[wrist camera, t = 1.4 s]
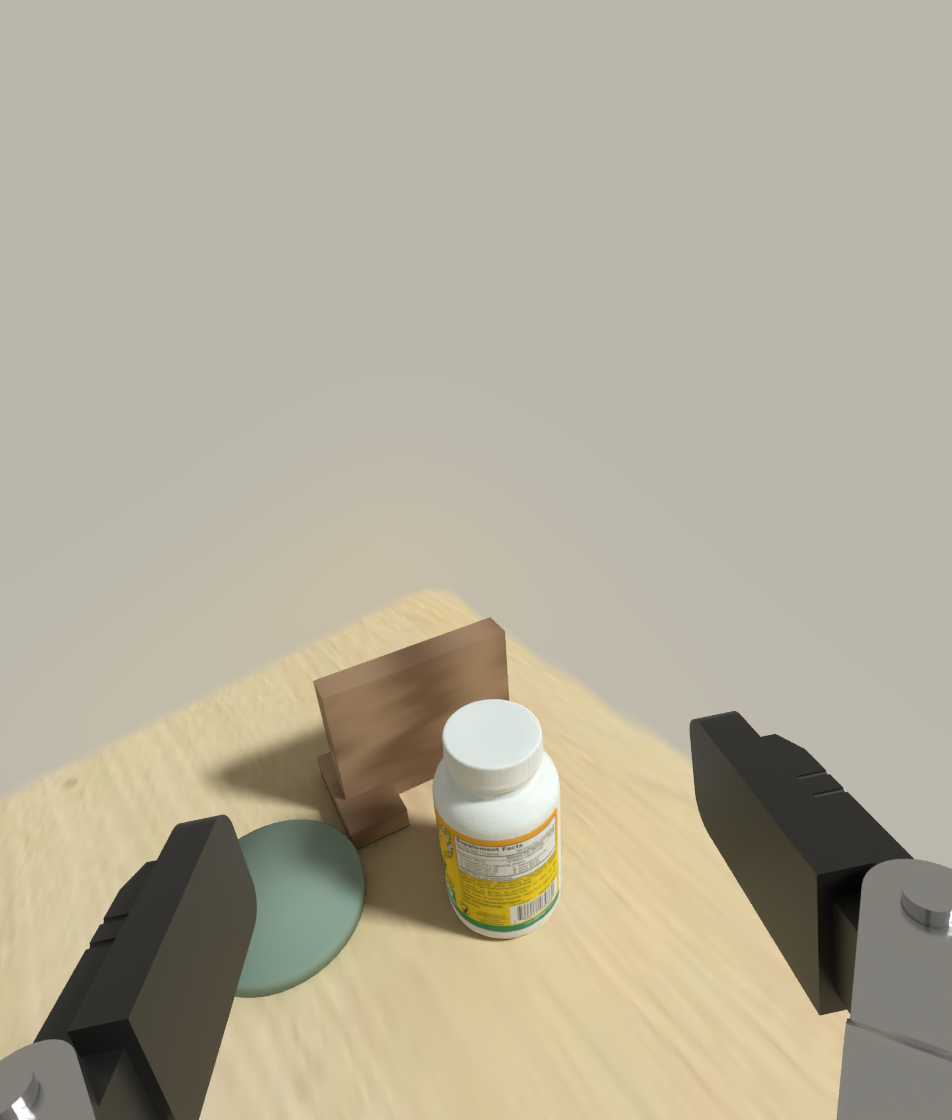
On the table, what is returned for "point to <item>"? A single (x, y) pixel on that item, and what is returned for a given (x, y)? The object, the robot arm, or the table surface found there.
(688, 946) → the table surface
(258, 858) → the pad
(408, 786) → the divider
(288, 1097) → the table surface
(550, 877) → the supplement bottle
